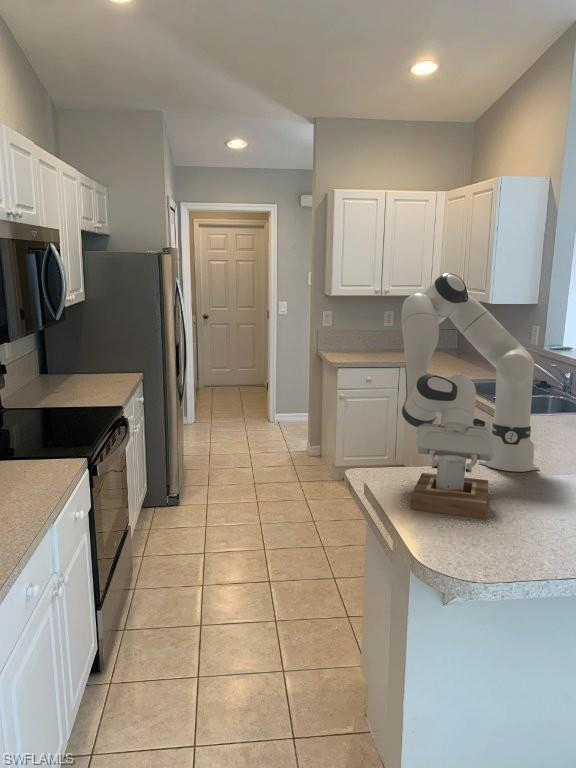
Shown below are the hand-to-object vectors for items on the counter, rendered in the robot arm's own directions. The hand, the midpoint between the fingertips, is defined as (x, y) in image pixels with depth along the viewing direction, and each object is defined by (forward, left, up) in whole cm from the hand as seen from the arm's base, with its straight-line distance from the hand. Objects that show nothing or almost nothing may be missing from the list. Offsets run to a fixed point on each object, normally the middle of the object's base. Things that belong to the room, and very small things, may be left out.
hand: (451, 469), depth 151 cm
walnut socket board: (-1, 0, -9) cm, 9 cm away
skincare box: (-1, 0, -9) cm, 9 cm away
